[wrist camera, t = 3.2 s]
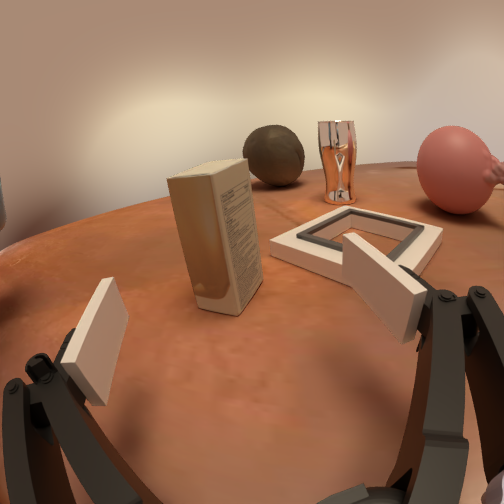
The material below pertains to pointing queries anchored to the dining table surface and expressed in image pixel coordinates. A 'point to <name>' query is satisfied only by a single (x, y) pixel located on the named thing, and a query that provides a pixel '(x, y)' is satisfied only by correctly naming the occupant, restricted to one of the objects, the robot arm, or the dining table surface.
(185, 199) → the skincare box
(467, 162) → the balloon
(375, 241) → the dining table surface
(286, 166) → the dark brown ball
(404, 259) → the socket block
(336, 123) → the beer glass
